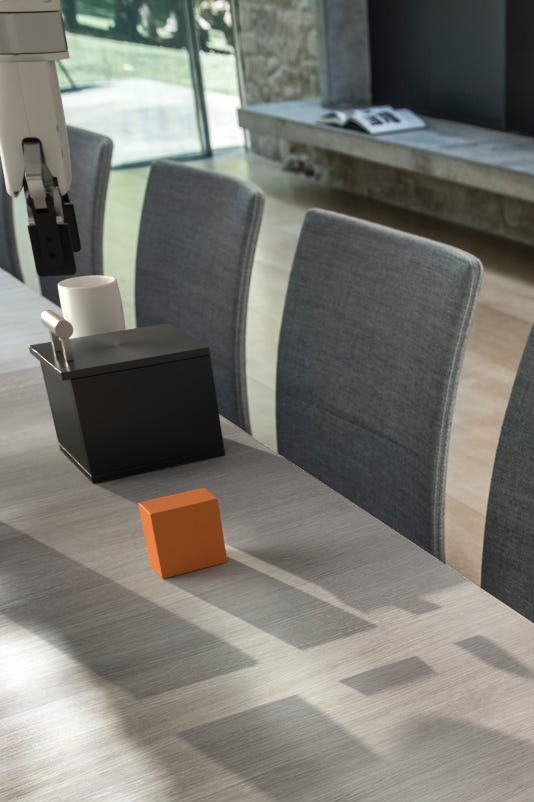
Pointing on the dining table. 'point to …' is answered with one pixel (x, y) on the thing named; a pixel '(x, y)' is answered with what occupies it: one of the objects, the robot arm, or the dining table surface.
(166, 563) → the orange block
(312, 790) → the dining table surface
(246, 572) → the dining table surface
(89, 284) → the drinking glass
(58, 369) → the bin lid
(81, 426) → the bin
